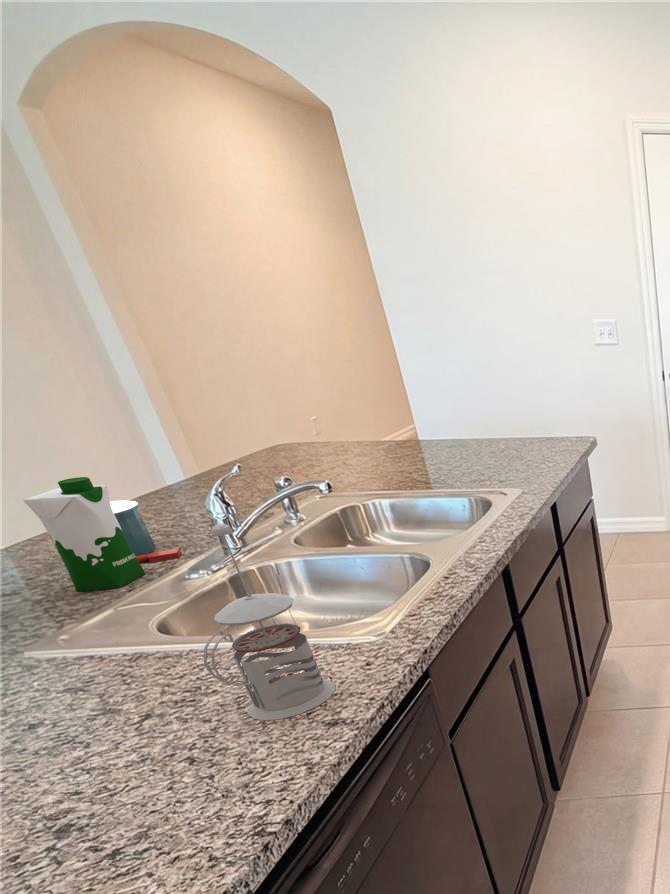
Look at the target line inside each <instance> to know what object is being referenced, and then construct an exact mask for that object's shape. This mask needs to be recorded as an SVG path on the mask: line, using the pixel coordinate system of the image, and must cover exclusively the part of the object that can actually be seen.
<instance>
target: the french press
mask: <svg viewBox="0 0 670 894" xmlns="http://www.w3.org/2000/svg"><path fill="white" fill-rule="evenodd" d="M210 531H211V534H212V536H214V537H221V536H222V538H223V540H224V543H225V545H226V547H227V548H226V549H227V550H228V552H229V555H230V557H231V559H232V562H233V564H234V566H235V569H236V571H237V573H238V576H239V579H240V580H241V583H242V586H243V588H244V590H245V593H246V594H247V595H246V596H243V597H240V598H237V599H234V600H233V601H231V602H229V603H227V604H226V605H225V606H224V607H223V608H222V609H220V610H219V611H218V612H217V613H216V614H215V615H214V617H213V620H214V621H215V622H216V623H218V624H219V625H221V626H227V627H235V626H244V625H250V624H254V623H259V625H260V627H259V628H256V629H253V630H249V631H248V632H245V633H243V634H242V635H240V636H239V637H237V638H236V639H235V640H234V638H233V636H232V634H231V633H224V632H223V631H215V633H213V635H211V637H209V639H208V640H207V641H206V643H205V645H204V647H203V648H204V649H203V656H202V657H203V663H204V665H205V668H206V669H207V672H208V673H209V674H210V675H211V676H212V677H213V678H215V679H216V680H218V681H220V682H222V683H226V684H227V685H232V686H236V687H241V686H244V687H245V690H246V691H247V694H248V696H249V698H250V700H251V704H250V705H249V707H248V712H247V714H248V716H250V717H251V718H252V719H254V720H258V721H259V720H260V721H266V722H267V721H274V720H282V719H283V720H284V719H287V718H291V717H293V716H298V715H300V714H302V713H305V712H308V711H310V710H312V709H314V708H316V707H318V706H320V705H321V704H323V703H324V702H326V701H328V700H329V699H330V697H331V696H332V695H333V694H334V693H335V692H336V684H335V683H334V682H333V681H331V680H329V679H326V678H323V676H322V673H321V671H320V668H319V665H318V664H317V661H316V658H315V656H314V654H313V653H314V652H313V651H312V648H311V645H310V644H309V641H308V638H307V636H306V634H304V633H300V632H301V627H300V626H299V625H297V624H293V623H280V624H279V623H277V624H276V623H274V624H272V625H268V626H267V625H266V626H264V625H263V623H262V621H266V620H269V619H272V618H275V617H277V616H279V615H280V614H283V613H285V612H287V611H288V610H290V609H291V608H292V606H293V603H294V597H291V596H290V595H287V594H282V593H277V592H264V593H252V594H250V592H249V589H248V588H247V585H246V583H245V581H244V579H243V575H242V573H241V571H240V568H239V566H238V564H237V561H236V559H235V557H234V555H233V554H234V553H233V552H232V550H231V547H230V545H229V543H228V540H227V538H226V536H225V535H230V534H232V533H234V532H233V531H234V530H233V529H232V528H231V526H230V525H228V524H226V523H218V524H215V525H214V526H212V527H211V529H210ZM219 634H220V635H221V637H220V638H219V639H218V640H217V641H216V642H215V643H214V645H213V649H212V651H211V666H212V668H213V670H212V668H211V666H210V664H209V663H208V658H207V657H208V655H207V654H208V648H209V646H210V643H211V641H212V640H213V639H214V638H215V637H216V636H217V635H219ZM227 637H228V638H229V639H228V638H227ZM222 640H224V641H226V642H227V643H232V645H231V648H232V649H233V650H234V651H235V652H234V654H233V659H234V662H235V664H236V666H237V668H238V671H239V673H240V675H241V678H242V679H243V680H241V679H240V680H228V679H226V678H225V677H224V676H223V675H221V673H220V672H219V671H218V668H217V666H216V663H215V652H216V650H217V648H218V646H219V644H220V642H221V641H222ZM292 647H294V649H293V650H290V651H281V652H263V651H267V650H275V649H276V650H277V649H287V648H292ZM247 653H254V654H251V655H249V656H248V657H246V659H245V660H244V661H242V660H243V658H244V657H245V655H247ZM260 658H268V659H263V660H257V659H260ZM253 660H255V661H253ZM256 660H257V661H256ZM287 665H289V666H287ZM277 666H284V667H282V668H275V667H277ZM213 671H214V672H215V673H214V672H213ZM301 671H304V672H301ZM289 673H290V674H289ZM291 673H294V674H291ZM283 674H289V675H285V676H281V675H283Z"/></svg>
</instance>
